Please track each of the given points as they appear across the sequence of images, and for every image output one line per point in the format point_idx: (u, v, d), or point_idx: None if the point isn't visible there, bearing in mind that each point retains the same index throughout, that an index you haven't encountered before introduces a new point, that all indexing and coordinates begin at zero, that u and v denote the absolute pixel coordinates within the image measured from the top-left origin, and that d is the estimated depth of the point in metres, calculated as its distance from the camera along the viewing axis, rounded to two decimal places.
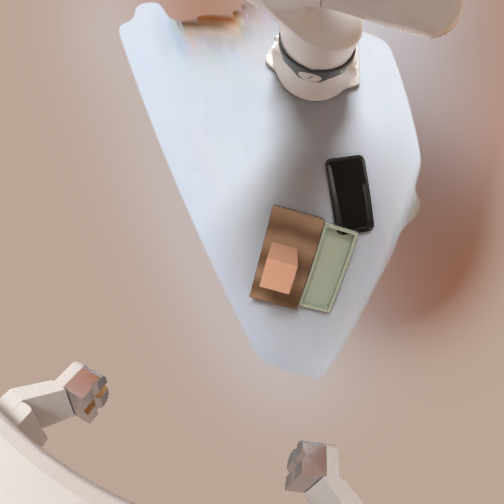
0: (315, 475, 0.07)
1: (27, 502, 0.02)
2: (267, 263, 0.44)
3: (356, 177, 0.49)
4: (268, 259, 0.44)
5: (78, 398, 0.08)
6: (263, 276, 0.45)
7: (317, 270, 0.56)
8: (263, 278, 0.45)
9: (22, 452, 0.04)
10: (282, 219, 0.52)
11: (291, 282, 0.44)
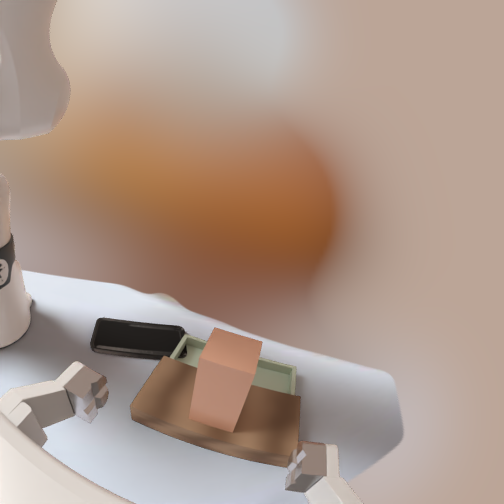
0: (315, 475, 0.07)
1: (27, 502, 0.02)
2: (209, 358, 0.23)
3: (120, 328, 0.40)
4: (201, 356, 0.23)
5: (78, 398, 0.08)
6: (234, 367, 0.23)
7: None
8: (238, 367, 0.23)
9: (22, 452, 0.04)
10: (152, 398, 0.27)
11: (241, 337, 0.27)
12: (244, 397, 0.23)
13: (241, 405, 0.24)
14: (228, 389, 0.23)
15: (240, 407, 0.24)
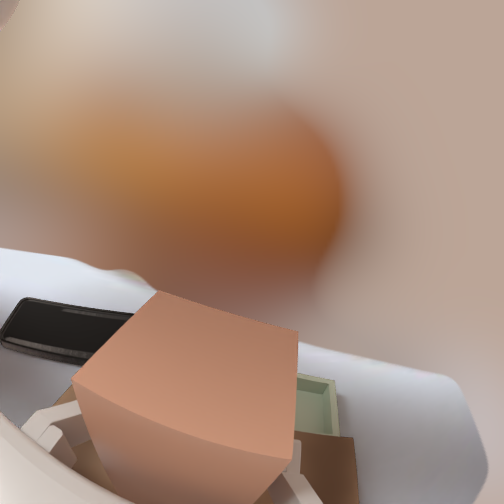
0: None
1: (27, 502, 0.02)
2: (106, 387, 0.05)
3: (47, 314, 0.22)
4: (82, 375, 0.05)
5: None
6: (204, 430, 0.05)
7: None
8: (220, 432, 0.05)
9: (22, 452, 0.04)
10: None
11: (235, 318, 0.09)
12: (247, 502, 0.05)
13: None
14: (193, 484, 0.05)
15: None
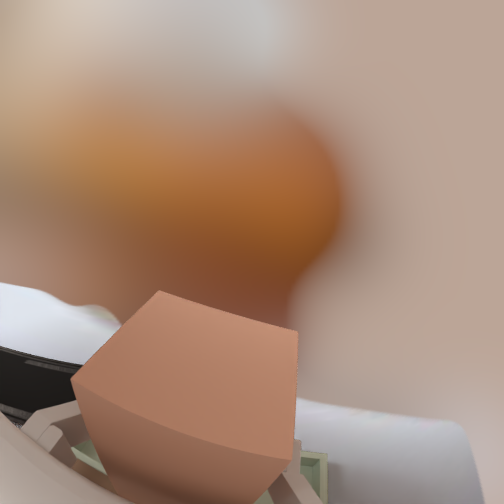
0: None
1: (27, 502, 0.02)
2: (105, 387, 0.05)
3: (10, 366, 0.16)
4: (82, 376, 0.05)
5: None
6: (203, 431, 0.05)
7: None
8: (220, 433, 0.05)
9: (22, 452, 0.04)
10: None
11: (235, 318, 0.09)
12: (247, 503, 0.05)
13: None
14: (192, 484, 0.05)
15: None
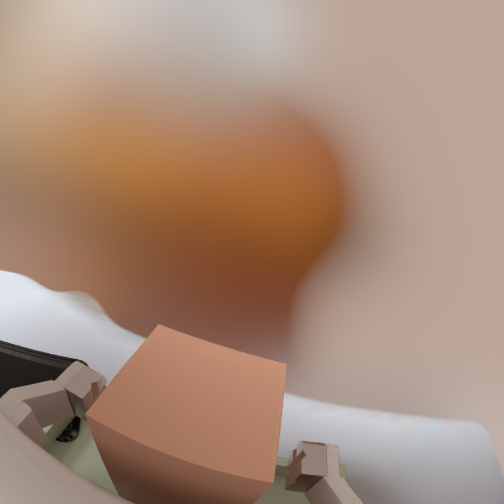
0: (315, 475, 0.07)
1: (27, 502, 0.02)
2: (116, 421, 0.05)
3: None
4: (95, 411, 0.05)
5: (78, 398, 0.08)
6: (200, 458, 0.05)
7: None
8: (214, 459, 0.05)
9: (22, 452, 0.04)
10: None
11: (229, 352, 0.10)
12: None
13: None
14: (191, 497, 0.06)
15: None
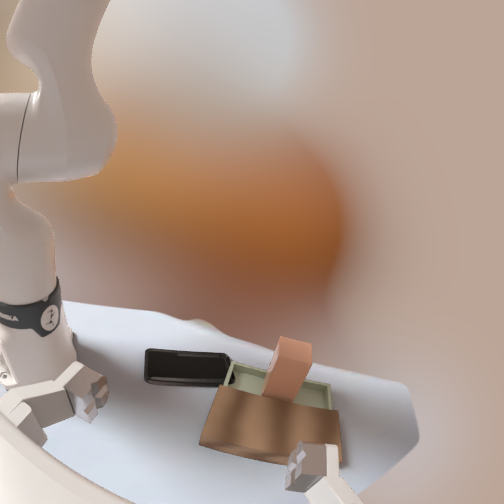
0: (315, 475, 0.07)
1: (27, 502, 0.02)
2: (283, 356, 0.37)
3: (169, 358, 0.44)
4: (279, 355, 0.37)
5: (78, 398, 0.08)
6: (299, 360, 0.36)
7: None
8: (301, 360, 0.36)
9: (22, 452, 0.04)
10: (219, 425, 0.31)
11: (298, 341, 0.41)
12: (303, 380, 0.37)
13: (300, 385, 0.38)
14: (293, 375, 0.37)
15: (299, 387, 0.38)
